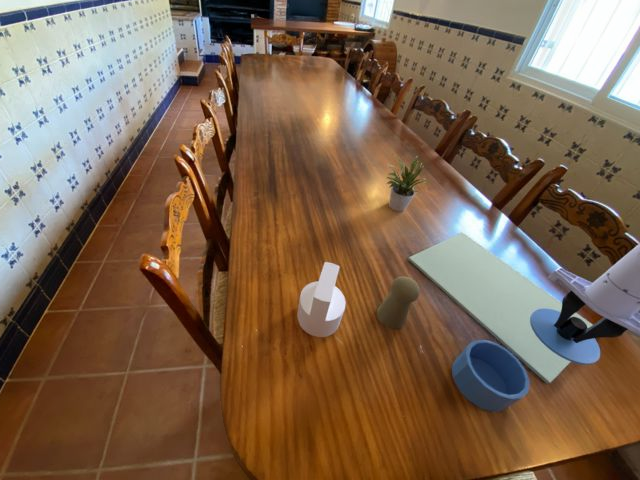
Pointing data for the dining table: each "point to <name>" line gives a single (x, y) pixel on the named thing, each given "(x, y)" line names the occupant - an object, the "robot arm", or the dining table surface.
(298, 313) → the base with upright slab
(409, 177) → the house plant
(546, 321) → the pot lid
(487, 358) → the pot
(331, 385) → the dining table surface
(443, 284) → the mat
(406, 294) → the olive pawn figure
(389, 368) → the dining table surface
